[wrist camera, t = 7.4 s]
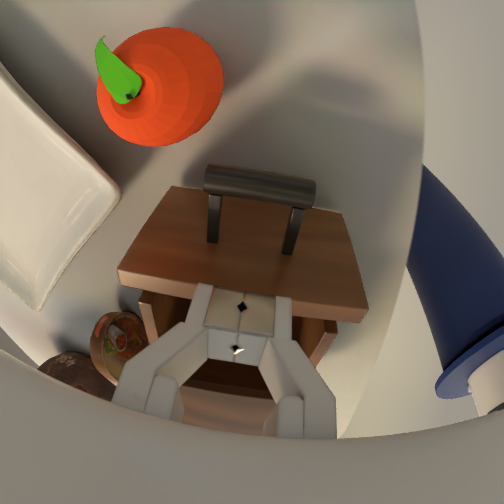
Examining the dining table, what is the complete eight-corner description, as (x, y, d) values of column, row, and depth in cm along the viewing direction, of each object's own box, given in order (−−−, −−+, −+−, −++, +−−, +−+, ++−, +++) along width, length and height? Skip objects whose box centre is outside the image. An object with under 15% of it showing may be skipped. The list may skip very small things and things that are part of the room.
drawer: (171, 128, 17) (100, 189, 10) (360, 159, 17) (410, 239, 10) (177, 306, 28) (153, 382, 21) (297, 325, 28) (297, 405, 21)
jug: (151, 375, 43) (118, 505, 24) (137, 401, 55) (114, 493, 36) (41, 322, 38) (-10, 439, 19) (55, 363, 50) (22, 449, 31)
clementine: (107, 71, 15) (38, 90, 9) (179, 2, 12) (125, -20, 6) (175, 147, 18) (130, 194, 13) (255, 87, 15) (241, 104, 10)
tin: (174, 364, 38) (161, 414, 32) (156, 362, 39) (142, 410, 33) (125, 296, 29) (96, 358, 23) (105, 296, 30) (76, 354, 23)
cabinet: (172, 277, 26) (136, 374, 18) (311, 299, 27) (316, 402, 19) (180, 352, 36) (162, 422, 28) (280, 367, 36) (276, 440, 28)
